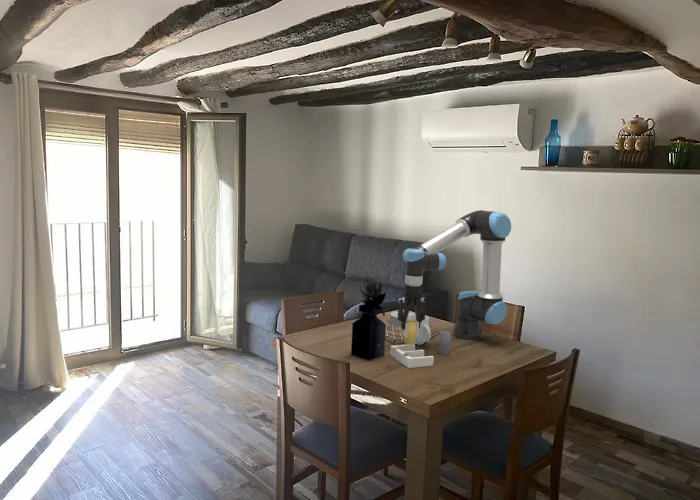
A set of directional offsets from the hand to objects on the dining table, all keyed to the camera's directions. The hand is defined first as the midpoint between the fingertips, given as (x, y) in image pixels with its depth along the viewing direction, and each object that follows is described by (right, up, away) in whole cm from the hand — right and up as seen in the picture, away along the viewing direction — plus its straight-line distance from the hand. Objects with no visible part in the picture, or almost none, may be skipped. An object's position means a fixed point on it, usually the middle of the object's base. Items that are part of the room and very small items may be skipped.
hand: (410, 335), depth 242 cm
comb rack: (-1, -10, -4) cm, 11 cm away
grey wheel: (+3, -2, +56) cm, 56 cm away
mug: (+6, -7, +20) cm, 22 cm away
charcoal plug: (+16, -9, +7) cm, 20 cm away
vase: (-19, -9, 0) cm, 21 cm away
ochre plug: (0, -3, 0) cm, 3 cm away
